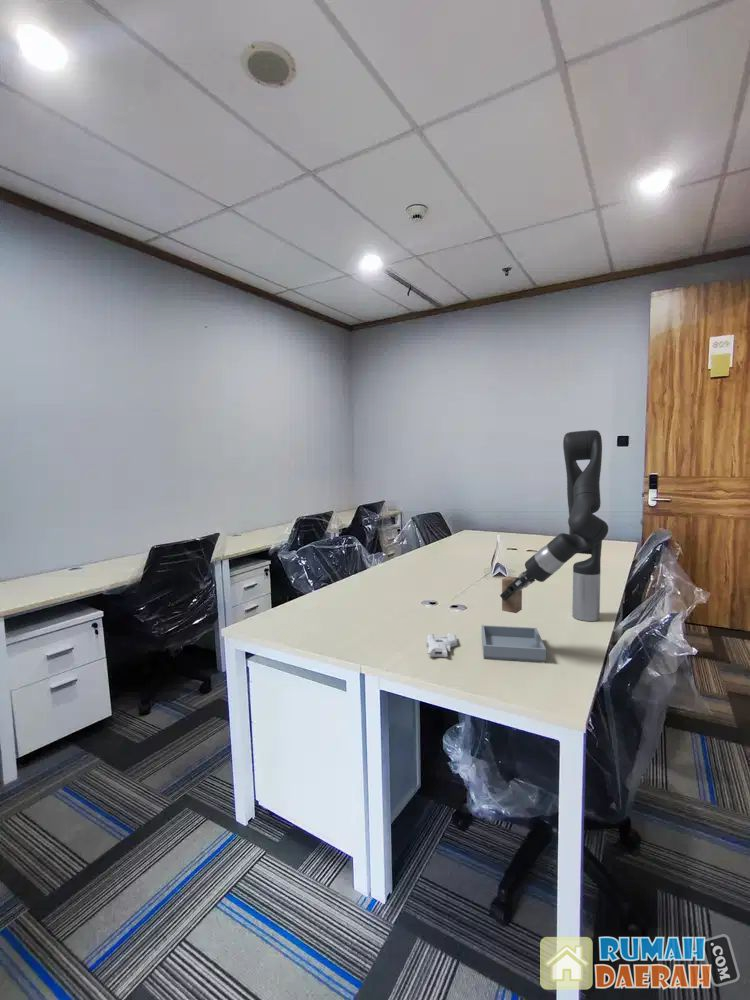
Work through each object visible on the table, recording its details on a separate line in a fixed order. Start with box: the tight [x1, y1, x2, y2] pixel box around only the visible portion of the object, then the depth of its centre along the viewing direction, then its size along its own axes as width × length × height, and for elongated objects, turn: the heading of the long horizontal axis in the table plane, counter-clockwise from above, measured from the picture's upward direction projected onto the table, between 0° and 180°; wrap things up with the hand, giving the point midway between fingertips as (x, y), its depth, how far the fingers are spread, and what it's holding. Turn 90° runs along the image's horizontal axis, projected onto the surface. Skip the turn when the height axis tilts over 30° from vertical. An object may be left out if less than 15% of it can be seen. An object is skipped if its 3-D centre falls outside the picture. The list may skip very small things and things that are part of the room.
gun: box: [425, 632, 458, 658], centre depth 145 cm, size 18×4×10 cm
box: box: [481, 624, 547, 663], centre depth 143 cm, size 18×18×4 cm
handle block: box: [501, 575, 523, 614], centre depth 142 cm, size 4×4×10 cm
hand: (505, 596), depth 143 cm, fingers closed on handle block, 4 cm apart
